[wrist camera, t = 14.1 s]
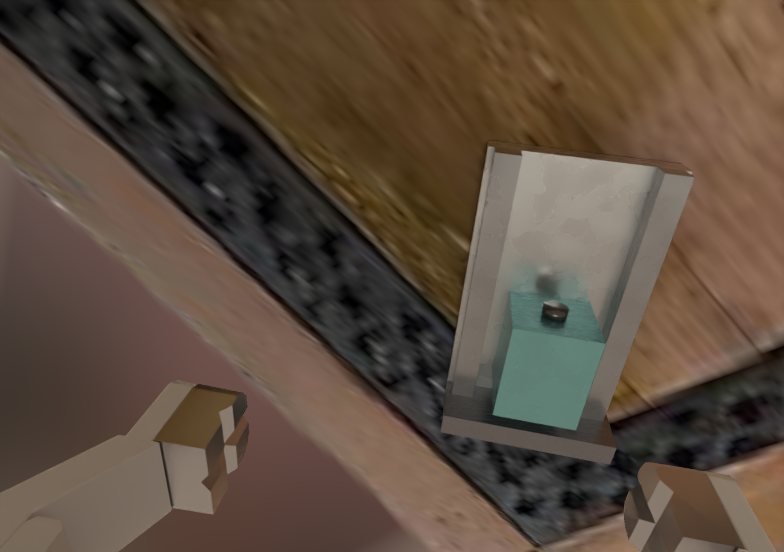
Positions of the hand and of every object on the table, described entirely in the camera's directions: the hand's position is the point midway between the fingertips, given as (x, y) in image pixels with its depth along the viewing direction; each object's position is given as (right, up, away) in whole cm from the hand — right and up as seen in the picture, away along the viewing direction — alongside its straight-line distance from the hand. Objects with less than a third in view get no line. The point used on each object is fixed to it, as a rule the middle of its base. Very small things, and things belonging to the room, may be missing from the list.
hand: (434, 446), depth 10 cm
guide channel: (+10, +3, +26) cm, 28 cm away
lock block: (+10, -1, +26) cm, 27 cm away
